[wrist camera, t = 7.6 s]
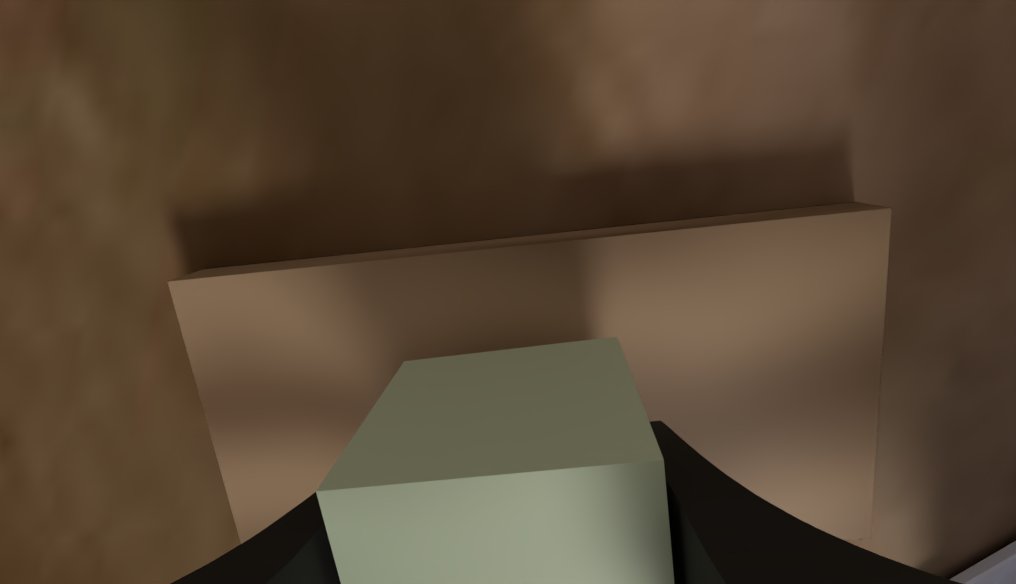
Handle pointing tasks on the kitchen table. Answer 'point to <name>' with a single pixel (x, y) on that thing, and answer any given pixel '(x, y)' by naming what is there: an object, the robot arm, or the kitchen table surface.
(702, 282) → the walnut board
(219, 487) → the kitchen table surface
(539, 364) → the sage cube
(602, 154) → the kitchen table surface
